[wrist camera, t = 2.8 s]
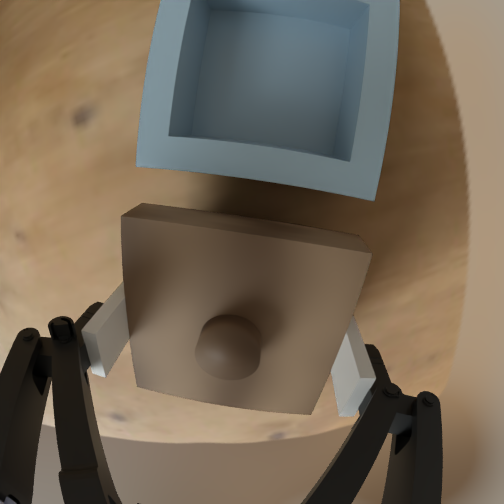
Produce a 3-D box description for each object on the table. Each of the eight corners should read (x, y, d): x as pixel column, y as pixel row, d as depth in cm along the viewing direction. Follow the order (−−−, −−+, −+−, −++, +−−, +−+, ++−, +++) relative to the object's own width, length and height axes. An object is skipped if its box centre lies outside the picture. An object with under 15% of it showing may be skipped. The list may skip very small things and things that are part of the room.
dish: (169, 157, 17) (135, 166, 13) (195, -3, 13) (171, -38, 8) (348, 183, 17) (374, 201, 13) (370, 21, 13) (399, -8, 8)
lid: (148, 362, 19) (129, 402, 15) (142, 203, 14) (105, 225, 11) (308, 388, 18) (312, 432, 15) (358, 235, 14) (382, 267, 11)
